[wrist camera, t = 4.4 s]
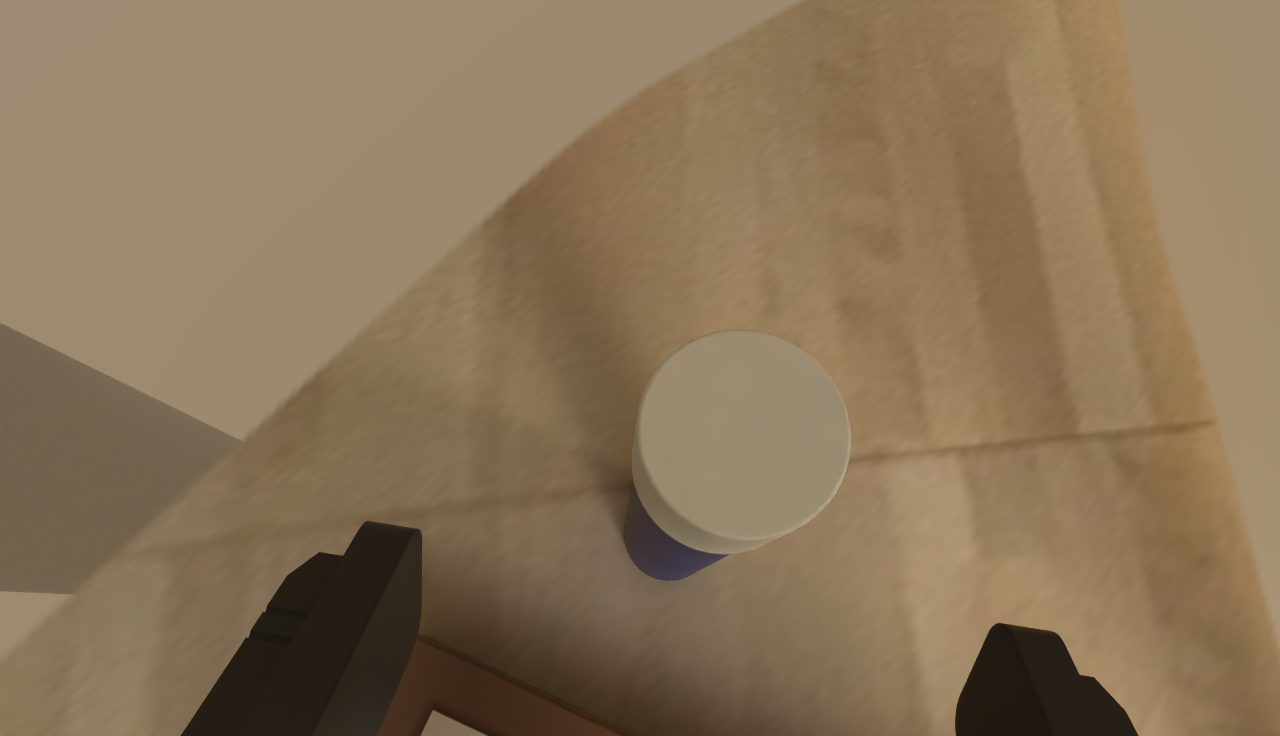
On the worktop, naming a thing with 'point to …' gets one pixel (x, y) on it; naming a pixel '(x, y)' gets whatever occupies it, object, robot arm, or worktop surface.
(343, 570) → the robot arm
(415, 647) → the picture frame
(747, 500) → the cylinder
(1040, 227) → the worktop surface
